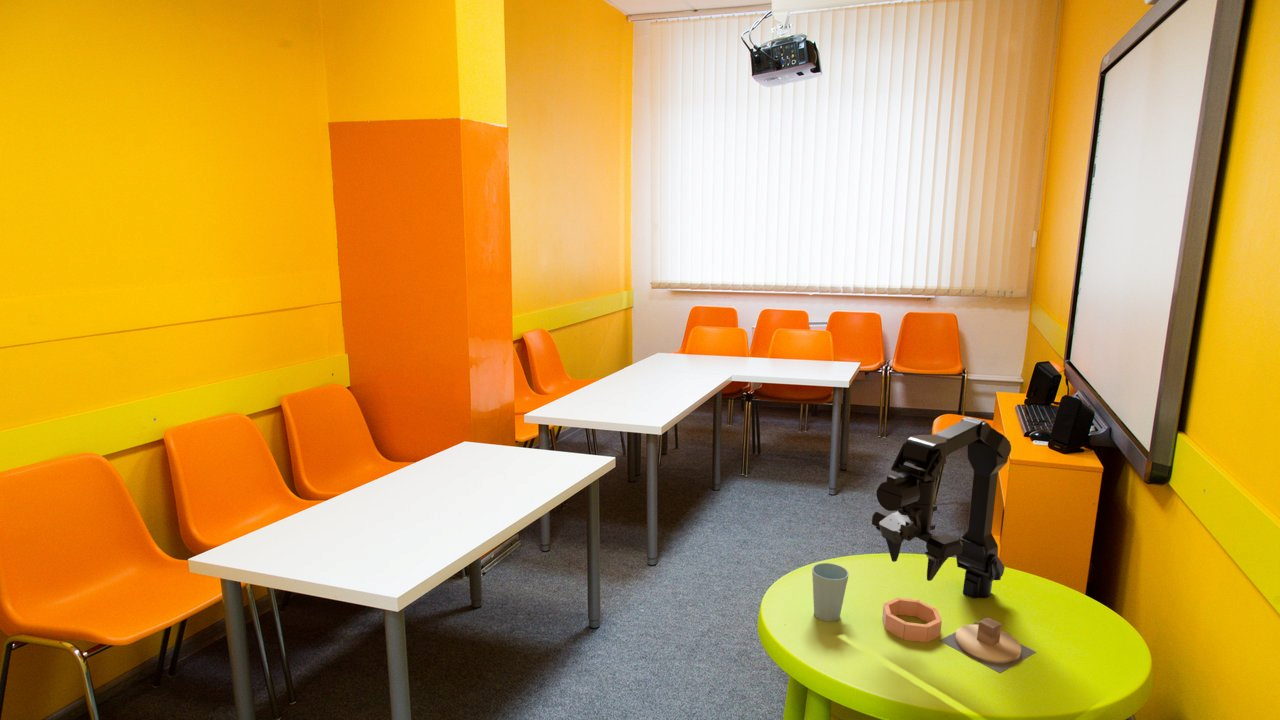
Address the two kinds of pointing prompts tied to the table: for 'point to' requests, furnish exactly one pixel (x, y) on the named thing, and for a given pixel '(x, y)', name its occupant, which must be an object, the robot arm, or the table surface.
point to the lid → (988, 642)
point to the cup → (828, 590)
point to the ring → (911, 629)
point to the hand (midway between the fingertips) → (911, 570)
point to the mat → (995, 666)
